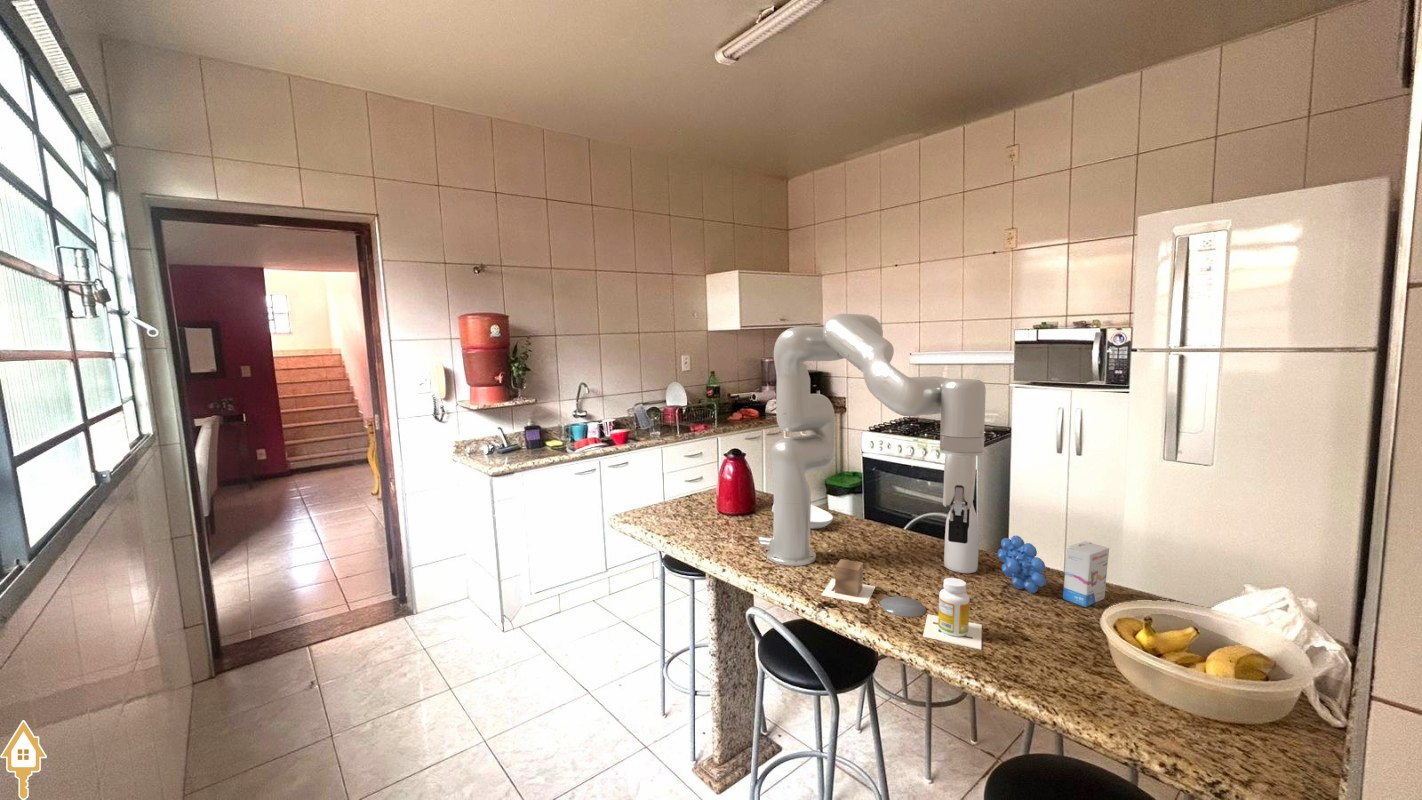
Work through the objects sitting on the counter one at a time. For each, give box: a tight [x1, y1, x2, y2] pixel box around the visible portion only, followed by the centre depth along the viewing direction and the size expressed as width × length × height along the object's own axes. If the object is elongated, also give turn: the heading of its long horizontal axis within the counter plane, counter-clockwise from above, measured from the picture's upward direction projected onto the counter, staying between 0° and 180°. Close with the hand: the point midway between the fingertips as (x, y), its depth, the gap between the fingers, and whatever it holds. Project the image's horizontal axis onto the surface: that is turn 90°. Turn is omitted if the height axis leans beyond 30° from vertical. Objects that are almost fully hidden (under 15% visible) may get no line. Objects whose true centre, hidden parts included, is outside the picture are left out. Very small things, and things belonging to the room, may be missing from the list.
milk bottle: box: [943, 494, 980, 574], centre depth 139 cm, size 8×8×20 cm
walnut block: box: [834, 558, 864, 597], centre depth 126 cm, size 5×5×6 cm
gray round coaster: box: [880, 595, 927, 618], centre depth 119 cm, size 9×9×1 cm
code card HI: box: [820, 578, 876, 605], centre depth 126 cm, size 10×10×1 cm
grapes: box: [996, 535, 1047, 594], centre depth 127 cm, size 12×7×12 cm, turn 25°
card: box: [922, 613, 983, 651], centre depth 109 cm, size 10×10×1 cm
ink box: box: [1062, 540, 1110, 608], centre depth 122 cm, size 9×5×12 cm, turn 122°
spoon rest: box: [771, 503, 834, 530], centre depth 178 cm, size 24×12×7 cm, turn 33°
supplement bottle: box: [937, 577, 971, 636], centre depth 108 cm, size 5×5×10 cm
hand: (959, 534), depth 107 cm, fingers open, 9 cm apart
